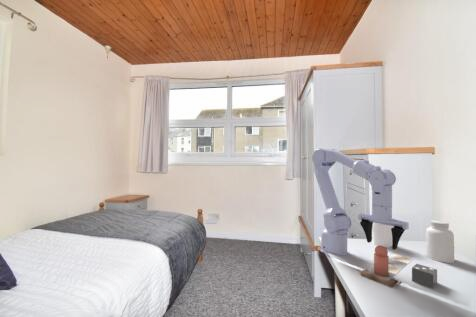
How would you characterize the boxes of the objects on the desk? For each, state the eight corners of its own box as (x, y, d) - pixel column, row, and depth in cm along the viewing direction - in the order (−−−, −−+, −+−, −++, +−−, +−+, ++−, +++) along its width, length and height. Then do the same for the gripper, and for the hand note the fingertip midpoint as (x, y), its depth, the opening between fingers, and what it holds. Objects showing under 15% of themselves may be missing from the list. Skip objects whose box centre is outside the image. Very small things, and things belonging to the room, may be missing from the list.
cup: (386, 243, 103) (387, 217, 103) (399, 251, 94) (399, 223, 94) (366, 242, 104) (366, 217, 104) (376, 250, 95) (376, 222, 95)
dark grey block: (411, 284, 68) (411, 267, 68) (416, 279, 71) (416, 263, 71) (433, 291, 64) (433, 274, 64) (437, 286, 67) (437, 269, 67)
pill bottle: (425, 254, 90) (425, 218, 91) (453, 260, 85) (452, 221, 86) (426, 261, 84) (426, 222, 85) (455, 267, 79) (455, 226, 80)
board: (360, 275, 73) (360, 271, 73) (391, 254, 90) (391, 251, 90) (392, 287, 66) (392, 283, 66) (418, 262, 83) (418, 259, 83)
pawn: (372, 272, 72) (372, 245, 73) (376, 269, 75) (376, 242, 75) (385, 278, 69) (385, 249, 70) (390, 274, 72) (390, 246, 72)
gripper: (411, 207, 72) (411, 249, 72) (364, 200, 83) (364, 236, 83) (404, 210, 68) (404, 254, 67) (355, 202, 79) (355, 240, 79)
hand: (381, 245), depth 75 cm, fingers open, 7 cm apart
